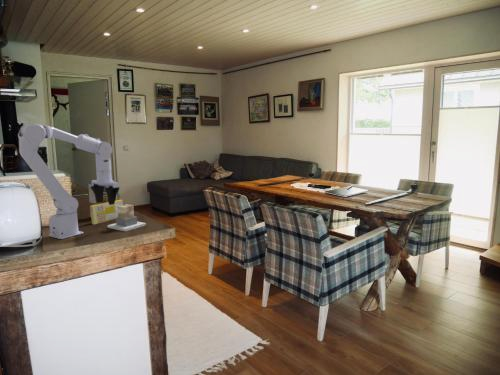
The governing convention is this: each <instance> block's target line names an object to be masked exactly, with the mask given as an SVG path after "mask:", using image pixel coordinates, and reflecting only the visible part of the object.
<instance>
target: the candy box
mask: <svg viewBox="0 0 500 375" xmlns="http://www.w3.org/2000/svg"><path fill="white" fill-rule="evenodd" d="M121 205H124V200H123V199H117V200H115V203H114V204H112V205H109V202H107V203H103V204H98V205H93V206H90V205H89V210H90V209H91V217H90V218H91V224H92V225H96V224H97V225H98V224H102V223H106V222H109V221H113V220H116V218H118V206H121Z"/></svg>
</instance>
